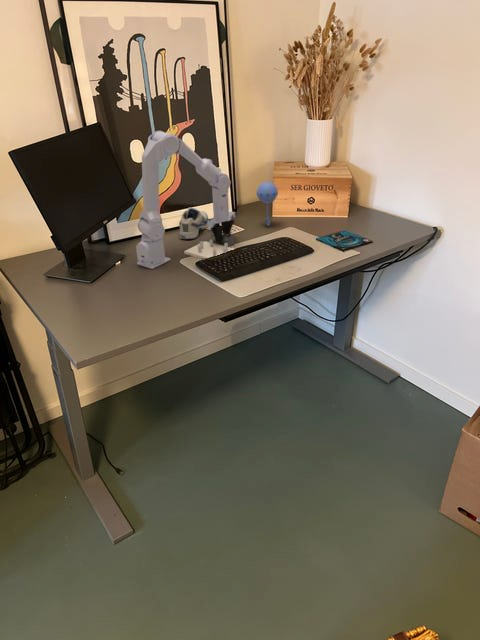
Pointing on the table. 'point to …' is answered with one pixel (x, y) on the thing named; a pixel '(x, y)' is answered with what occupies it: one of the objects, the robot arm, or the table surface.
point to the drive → (224, 239)
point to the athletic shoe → (192, 223)
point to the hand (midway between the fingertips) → (222, 240)
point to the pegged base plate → (207, 249)
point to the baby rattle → (267, 195)
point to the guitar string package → (344, 240)
